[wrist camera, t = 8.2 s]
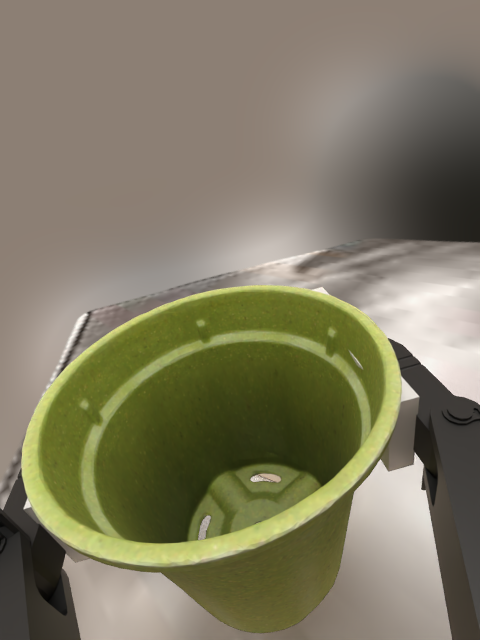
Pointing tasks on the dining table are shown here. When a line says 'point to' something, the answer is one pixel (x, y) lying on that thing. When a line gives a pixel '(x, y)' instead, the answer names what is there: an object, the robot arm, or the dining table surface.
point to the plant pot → (219, 446)
